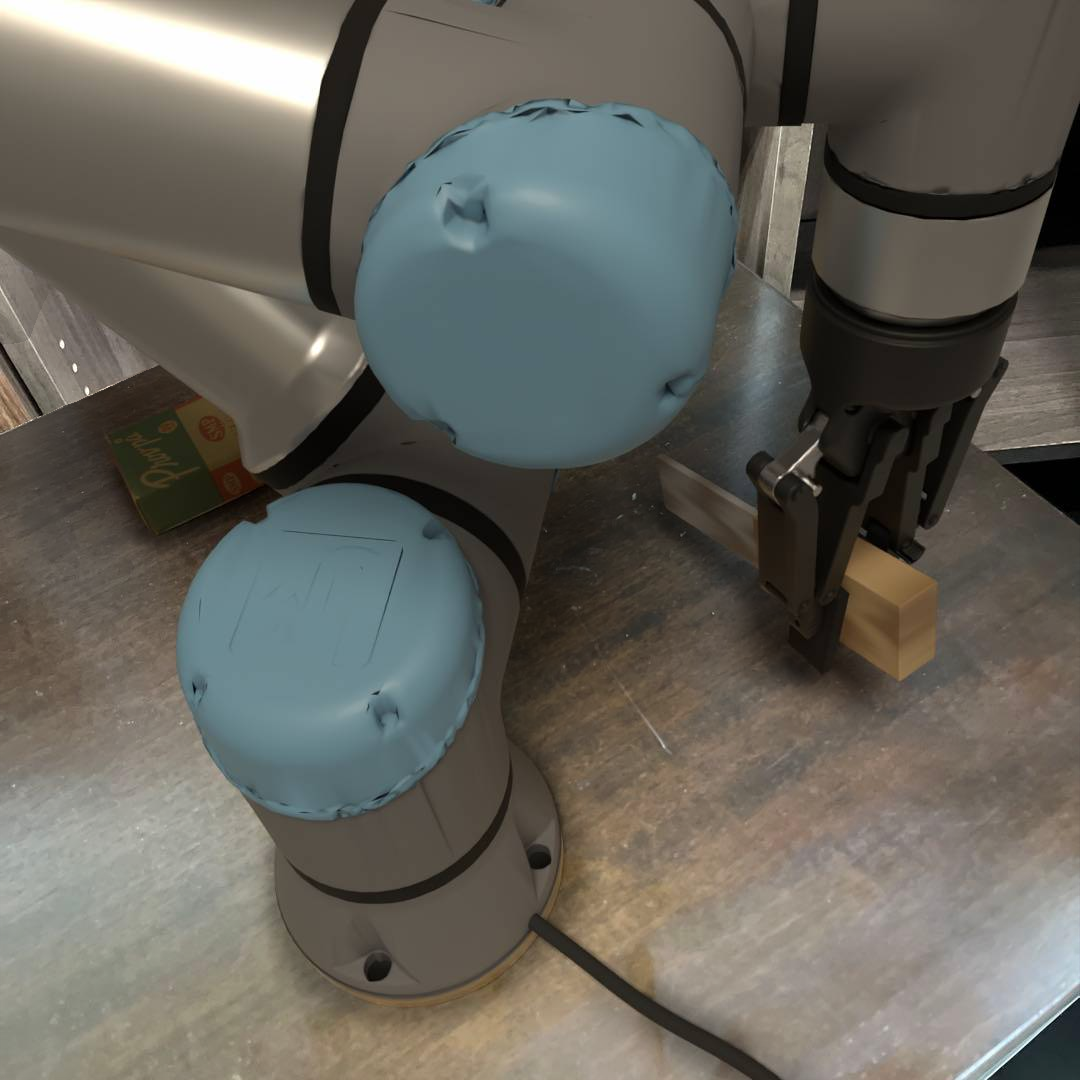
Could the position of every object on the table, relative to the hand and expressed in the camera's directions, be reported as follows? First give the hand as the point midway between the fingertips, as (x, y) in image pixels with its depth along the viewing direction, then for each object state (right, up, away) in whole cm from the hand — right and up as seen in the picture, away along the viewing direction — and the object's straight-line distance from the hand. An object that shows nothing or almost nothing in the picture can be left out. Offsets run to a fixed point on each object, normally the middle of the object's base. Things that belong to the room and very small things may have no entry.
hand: (831, 639), depth 54 cm
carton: (-39, +11, +22) cm, 47 cm away
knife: (-3, +3, +2) cm, 5 cm away
